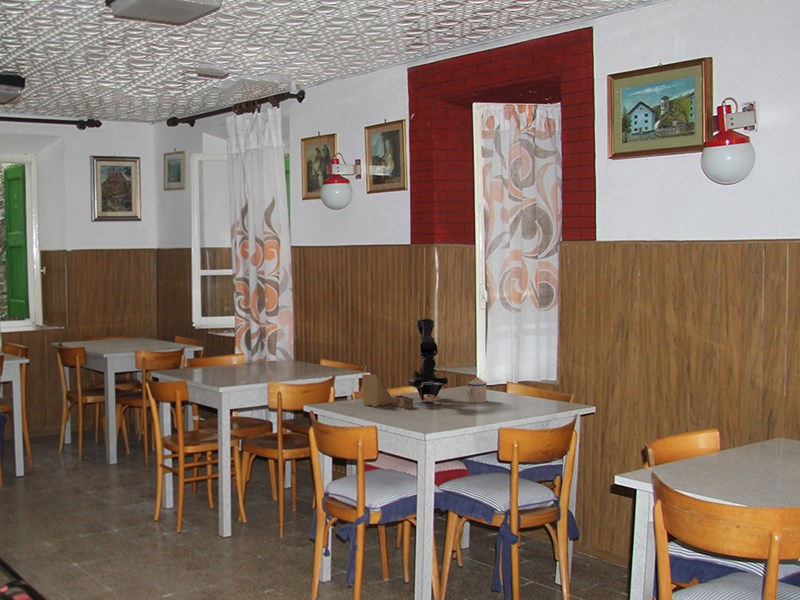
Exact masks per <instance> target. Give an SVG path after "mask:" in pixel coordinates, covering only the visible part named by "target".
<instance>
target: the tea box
mask: <svg viewBox="0 0 800 600" xmlns="http://www.w3.org/2000/svg"><path fill="white" fill-rule="evenodd" d="M392 398H393V403H392V406H393V407H395V406H396V408H398V407H400V408H399V409H402V408H408V409H414V398H413V397H409V396H407V395H402V394H401V395H394V396H393V395H392Z"/></svg>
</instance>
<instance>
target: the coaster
mask: <svg viewBox="0 0 800 600" xmlns="http://www.w3.org/2000/svg"><path fill="white" fill-rule="evenodd" d="M415 404H416V405H420V406H424V407H431V406H441V405H442V404H443V403H441V402H439V401H435V402H428V401H425V400H423V401H416V402H415Z"/></svg>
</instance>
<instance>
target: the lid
mask: <svg viewBox="0 0 800 600" xmlns="http://www.w3.org/2000/svg"><path fill="white" fill-rule="evenodd" d="M416 398H417V399H420V400H421V398H420V395H419V394H416ZM440 400H441V397H440V396H438V395H437V396H434V395H430V394H426V395H424V399H423V401H428V402H437V401H440Z"/></svg>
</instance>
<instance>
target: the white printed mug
mask: <svg viewBox="0 0 800 600" xmlns="http://www.w3.org/2000/svg"><path fill="white" fill-rule="evenodd" d="M467 387H468V388H467V390H466V392H467V393H466V394H467V398H468V399H467V400H468V402H469V403H472V404H482V403H486V402H487V382H486V381H484V380H482V379H481V378H480V377H479V376H477V377H475V378H474V379H472V380H470V381H468V383H467Z"/></svg>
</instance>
